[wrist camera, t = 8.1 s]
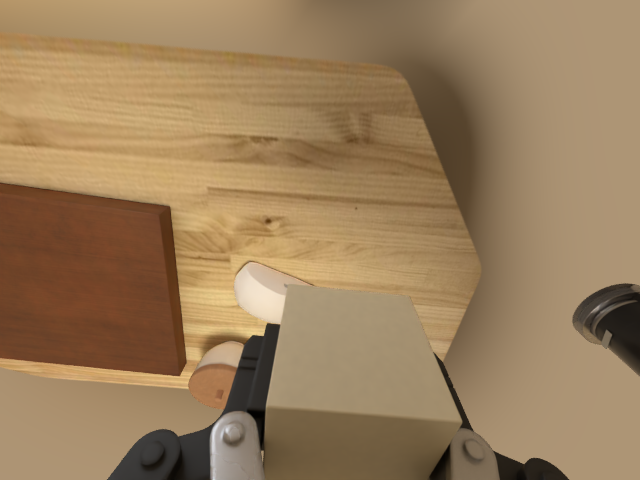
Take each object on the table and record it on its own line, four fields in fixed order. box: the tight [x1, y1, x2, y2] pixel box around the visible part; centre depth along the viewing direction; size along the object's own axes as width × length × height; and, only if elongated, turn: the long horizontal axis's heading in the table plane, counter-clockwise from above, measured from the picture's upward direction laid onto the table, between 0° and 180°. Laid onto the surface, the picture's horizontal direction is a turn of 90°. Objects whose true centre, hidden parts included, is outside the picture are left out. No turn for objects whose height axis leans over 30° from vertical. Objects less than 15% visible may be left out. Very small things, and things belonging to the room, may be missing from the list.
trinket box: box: [189, 341, 244, 409], centre depth 49 cm, size 11×11×9 cm
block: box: [263, 284, 462, 480], centre depth 10 cm, size 5×5×5 cm
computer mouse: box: [234, 262, 312, 324], centre depth 43 cm, size 6×13×6 cm, turn 64°
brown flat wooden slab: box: [0, 183, 186, 376], centre depth 45 cm, size 40×3×33 cm
